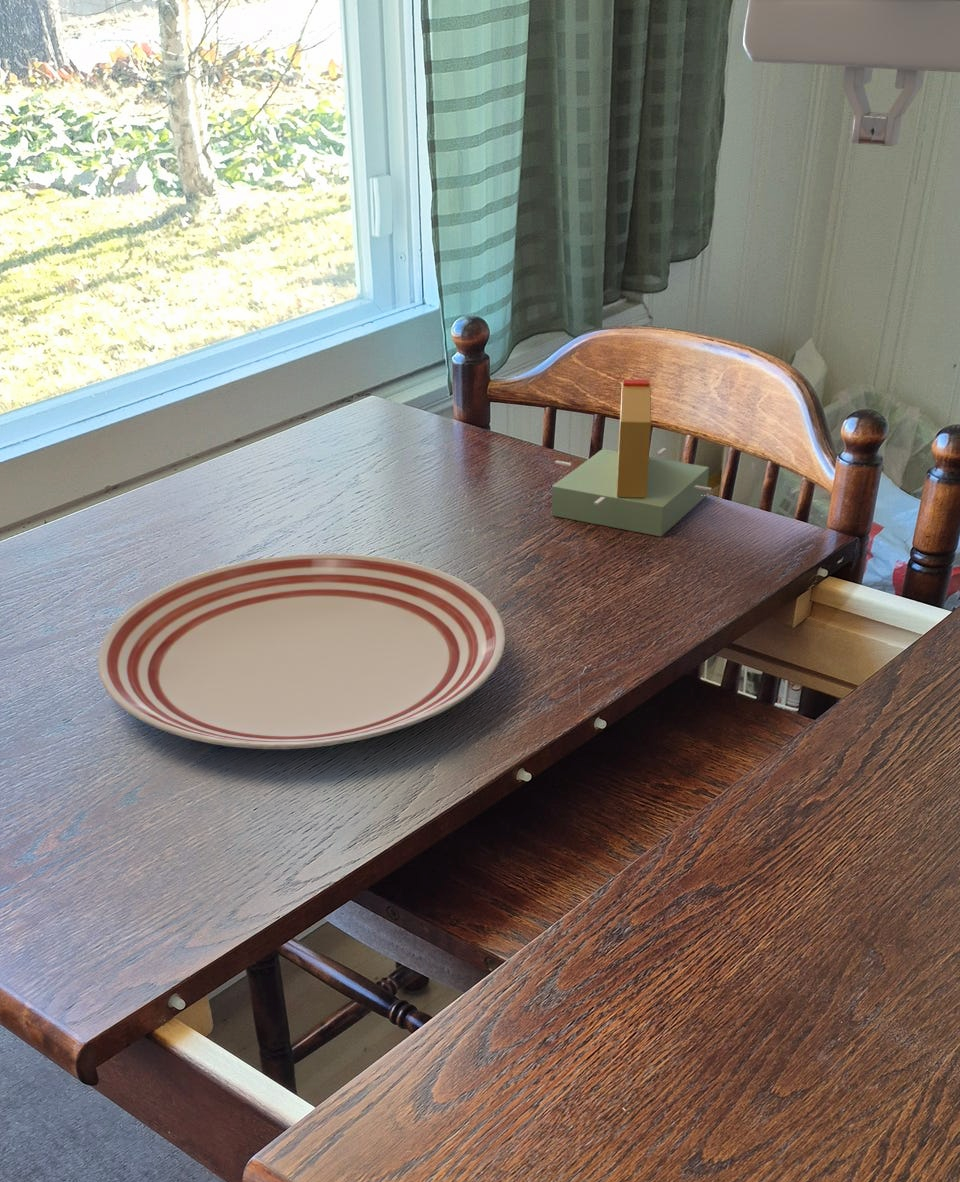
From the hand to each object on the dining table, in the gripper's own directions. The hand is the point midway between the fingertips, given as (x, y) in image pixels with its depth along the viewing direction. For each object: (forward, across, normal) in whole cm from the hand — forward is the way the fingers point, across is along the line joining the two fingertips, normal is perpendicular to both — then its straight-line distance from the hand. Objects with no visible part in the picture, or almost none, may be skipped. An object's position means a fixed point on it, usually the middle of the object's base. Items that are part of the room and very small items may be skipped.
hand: (874, 144), depth 102 cm
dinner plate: (+27, -22, -44) cm, 56 cm away
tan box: (+24, -15, -5) cm, 29 cm away
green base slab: (+27, -15, -5) cm, 31 cm away
